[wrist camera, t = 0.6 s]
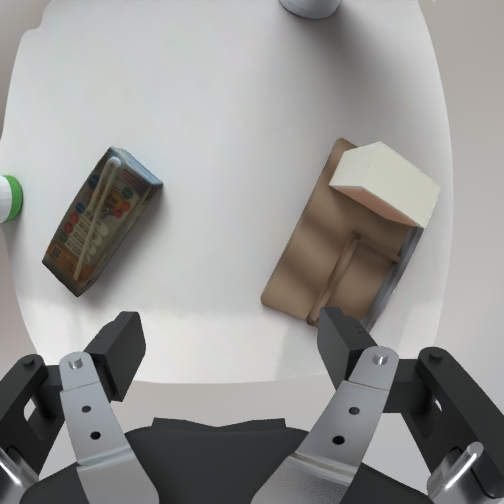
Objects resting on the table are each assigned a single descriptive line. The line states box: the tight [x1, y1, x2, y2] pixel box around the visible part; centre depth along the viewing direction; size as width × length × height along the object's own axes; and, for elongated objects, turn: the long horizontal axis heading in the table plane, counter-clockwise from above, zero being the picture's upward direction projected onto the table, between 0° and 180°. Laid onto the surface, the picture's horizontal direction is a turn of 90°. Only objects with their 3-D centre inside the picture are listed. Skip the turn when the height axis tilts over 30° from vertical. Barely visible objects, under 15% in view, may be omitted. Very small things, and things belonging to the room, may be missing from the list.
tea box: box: [329, 141, 442, 229], centre depth 29 cm, size 5×9×10 cm, turn 65°
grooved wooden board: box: [260, 138, 424, 333], centre depth 36 cm, size 24×16×4 cm
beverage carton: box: [42, 146, 163, 297], centre depth 32 cm, size 8×19×7 cm, turn 138°
